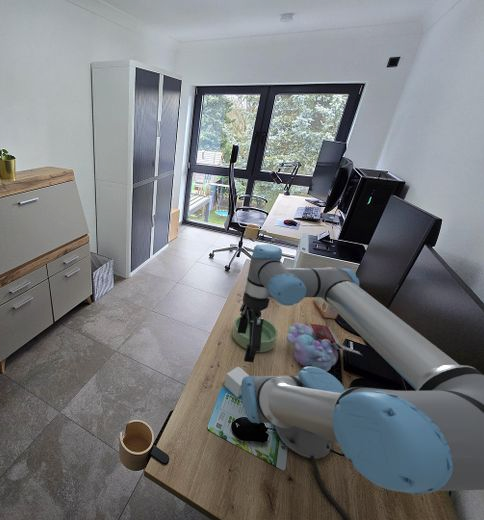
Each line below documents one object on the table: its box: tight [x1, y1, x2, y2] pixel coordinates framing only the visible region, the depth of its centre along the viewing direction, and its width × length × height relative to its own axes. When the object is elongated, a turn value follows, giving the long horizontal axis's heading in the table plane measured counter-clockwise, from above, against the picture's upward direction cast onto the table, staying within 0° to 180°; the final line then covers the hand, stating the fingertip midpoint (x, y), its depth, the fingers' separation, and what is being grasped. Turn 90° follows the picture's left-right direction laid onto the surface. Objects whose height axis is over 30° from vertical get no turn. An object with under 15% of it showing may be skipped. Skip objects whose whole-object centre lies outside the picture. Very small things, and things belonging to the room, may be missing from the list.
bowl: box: [231, 315, 278, 353], centre depth 123 cm, size 17×17×6 cm
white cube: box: [223, 366, 250, 399], centre depth 101 cm, size 6×6×6 cm
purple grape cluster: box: [286, 321, 362, 372], centre depth 112 cm, size 20×22×18 cm
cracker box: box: [313, 266, 339, 320], centre depth 139 cm, size 14×6×21 cm, turn 168°
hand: (244, 346), depth 97 cm, fingers open, 13 cm apart
